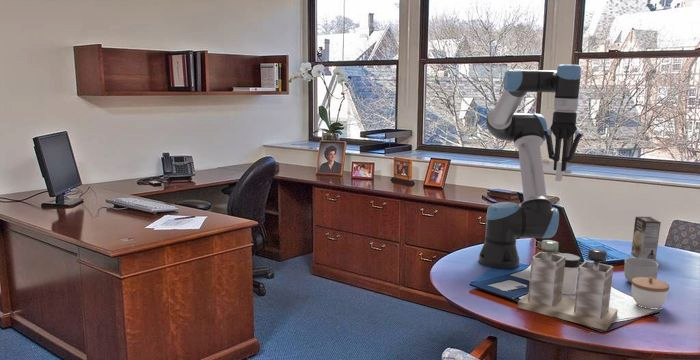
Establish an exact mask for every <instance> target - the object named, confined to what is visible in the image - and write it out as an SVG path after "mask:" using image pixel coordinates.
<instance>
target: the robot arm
mask: <svg viewBox="0 0 700 360" xmlns="http://www.w3.org/2000/svg"><path fill="white" fill-rule="evenodd" d="M581 78H582V68H581V65H579V64H558V65H557V68H556V70H543V69H542V70H539V69H538V70H535V69H518V68H516V69H508V70H506V71H505V72H504V76H503V81H502V83H503V86H502V87H503V92H502V93H501V95H500V97H499V99H498V101H497V103H496V105H495V107H493V108H492V109H490V111H489V112H488V113H487V116H486V120H485V124H486V128H487V130H488V132H489V133H490V134H491V135H492V136H493V137H494V138H496V139H498V140H501V141H505V142H506V141H509V142H510V141H511V142H513V146H514V147H515V148H516V149H517V150H518V157H519V167H520V175H521V185H522V194H523V201H522V202H521V203H520V205H519V204H518V202H513V201H512V202H511V201H500V202H496V203H492V204H490V205H489V206H488V207H487V210H486V211H487V212H486V215H485V220H486V221H485V233H484V234H485V235H484V243H483V245H482V248H481V250H480V252H479V255H478V262H479V263H480V264H482V265H484V266H486V267H489V268H495V269H502V270H503V269H505V270H507V269H514V268H515V269H516V268H517V267H519V265H520V256H519V253H518V249H517V238H523V239H525V238H528V239H529V238H532V239H540V240H541V239H551V238H553V237H554V236H555V235H556V234H557V230H558V228H559V222H560V212H559V209H558V208H557V207H553V205H552V201H551V200H550V199H548V198H547V197H548V196H547V191H546V181H545V174H544V166H543V157H542V151H541V150H542V149H541V146H543V144H544V141H545V142H546V149H547V154H548V159H550V160H553V170H554V171H555V182H556V181H557V182H561V181H562V180H563V173H564V172H565V171H566V170H567V164H568V162H569V161H573V160H574V157H575V154H576V151H577V148H578V145H579V144H580V140H581V139H582V138H583V136H584V133H583V132H580V131H579V130H578V128H577V126H576V125H577V116H578V113H577V111H578V108H579V107H578V105H579V94H580V86H581V85H580V84H581ZM528 93H552V94H553V93H554V101H553V110H554V111H553V113H552V123H551V125H550V128H549V129H548V124H547V121H546V118H545V117H544V115H543V114H541V113H536V112H527V113H526V112H516V111H517V109H518V108H519V106H520V104H521V103H522V101H523V99H524V98H525V96H526V95H527V94H528ZM552 134H553V135H554V137H555V139H554V141H555V143H554V144H555V145H553V138H552ZM573 135H574V136H573ZM572 136H573V137H574V139H573V140H572V145H571V147H570V141H571V140H570V139H571V138H572ZM569 147H570V150H569ZM561 149H562V151H561ZM561 153H562V154H561Z"/></svg>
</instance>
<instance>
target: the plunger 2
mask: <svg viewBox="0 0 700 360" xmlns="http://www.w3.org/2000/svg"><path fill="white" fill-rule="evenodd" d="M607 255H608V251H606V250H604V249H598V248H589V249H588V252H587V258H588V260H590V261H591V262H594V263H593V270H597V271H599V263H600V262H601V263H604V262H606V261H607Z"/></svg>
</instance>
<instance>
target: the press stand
mask: <svg viewBox="0 0 700 360" xmlns="http://www.w3.org/2000/svg"><path fill="white" fill-rule="evenodd" d="M565 258H566V257H565V256H560V255H556V254H554V253H552V257H551V261H549V260H546V251H544V252H543V251H539V252H538V253H536V254H534V255H533V256H531V260H530V261H531V262H530V270H529V282H528V283H529V284H528V293H527V294H526V295H525V296H523V297H522V298H521V299H519V300H518V301H517V308H518V309H522V310H526V311H529V312H533V313H536V314H540V315H545V316H549V317H552V318H557V319H560V320H564V321H567V322H568V321H569V322H572V323H575V324H579V325H582V326H583V325H584V326H587V327H590V328H595V329H598V330H603V331H608V329H609V327H610V326H611V325H612V323H613V322H614V320H615V319H616V317H617V316H618V311H619V309H618V308H616V307H615V308H614V307H610V301H611V300H610V299H611V293H612V283H613V274H614V265H609V264H604V263H600V262H599V271H597V270H593V263H594V261H591V260H590V261H589V260H585V261H583V263H580V266H579V267H578V276H577V286H576V294H575V295H574V296H575V297H574V298H573V297H568V296H564V295H563V294H562V289H563V279H564V269H565ZM612 321H613V322H612Z"/></svg>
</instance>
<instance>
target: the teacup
mask: <svg viewBox="0 0 700 360" xmlns="http://www.w3.org/2000/svg"><path fill="white" fill-rule="evenodd" d="M659 266H660V265H659V263H658V262H657V260H655V261H654V260H650V259H646V258H637V257H636V256H634V255H633V256H629V257H627V258H626V259H624V270H623V271H624V278H625V279H626V280H627V281H628V282H630V283H631V284H632V279H633V278H636V277H648V278H649V277H652V278H654V279H658V272H659Z"/></svg>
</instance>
